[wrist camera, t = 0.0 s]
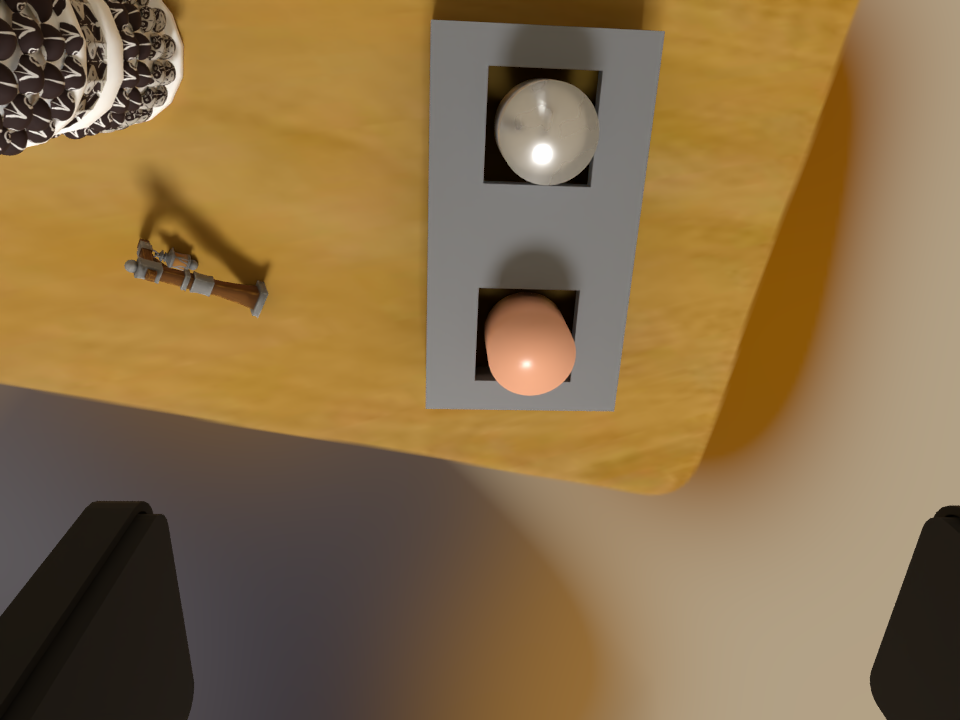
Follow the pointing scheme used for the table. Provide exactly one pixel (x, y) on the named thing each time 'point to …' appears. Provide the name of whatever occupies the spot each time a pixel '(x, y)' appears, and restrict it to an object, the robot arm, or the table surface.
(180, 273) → the wooden post with brackets
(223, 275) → the table surface
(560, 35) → the button housing
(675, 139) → the table surface
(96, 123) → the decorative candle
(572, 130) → the cream short cylinder
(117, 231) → the table surface
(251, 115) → the table surface
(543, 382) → the terracotta plunger
